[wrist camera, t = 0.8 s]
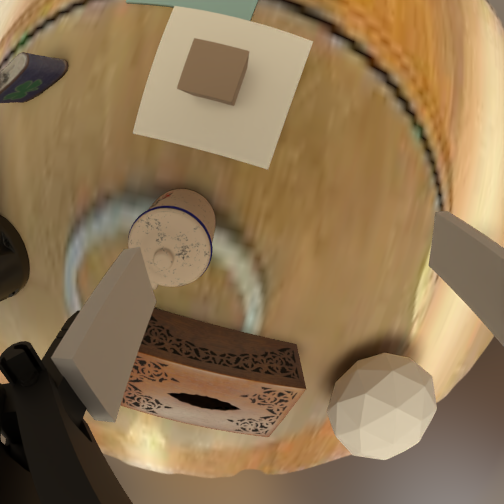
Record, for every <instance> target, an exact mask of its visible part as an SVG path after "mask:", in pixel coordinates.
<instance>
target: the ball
mask: <svg viewBox="0 0 504 504" xmlns="http://www.w3.org/2000/svg"><path fill="white" fill-rule="evenodd" d="M436 410H437V406H436V398H435V391H434V385H433V379H432V376H431V375H430V374H429V373H428V372H427V371H425V370H424V369H423V368H422V367H420V366H419V365H418V364H417V363H416V362H414V361H413V360H412V359H410V358H409V357H404V356H399V355H394V354H389V353H382V354H379V355H375V356H372V357H369V358H365V359H361V360H358V361H357V362H356V363H355V364H354V365H353V366H352V367H351V368H350V369H349V370H348V371H347V372H346V373H345V374H344V375H343V376H342V377H341V378H340V379H339V380H337V381H336V382H335V386H334V389H333V393H332V396H331V399H330V403H329V406H328V409H327V414H328V417H329V420H330V422H331V425H332V428H333V431H334V433H335V436H336V437H337V438H338V439H339V440H340V442H341V443H342V444H343V445H344V446H345V447H346V448H347V449H348V450H349V452H350V453H351V454H352V455H356V456H361V457H367V458H374V459H381V460H386V459H389V458H391V457H393V456H395V455H397V454H399V453H401V452H403V451H405V450H407V449H409V448H410V447H412V446H414V445H415V444H417V443H419V441H420V439H421V438H422V436H423V434H424V432H425V431H426V429H427V427H428V425H429V423H430V421H431V420H432V418H433V416H434V414H435V412H436Z"/></svg>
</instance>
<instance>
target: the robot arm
mask: <svg viewBox="0 0 504 504" xmlns="http://www.w3.org/2000/svg"><path fill="white" fill-rule="evenodd" d="M429 266H430V267H431V268H432V269H433V270H434V271H435V272H436V273H437V274H438V275H439V276H440V277H441V278H442V279H443V280H444V281H445V282H446V283H447V284H448V285H449V286H450V287H451V288H452V289H453V290H454V291H455V293H456V294H457V295H458V296H459V297H460V298H461V299H462V300H463V301H464V302H465V303H466V304H467V305H468V306H469V307H470V308H471V310H472V311H473V312H474V313H475V314H476V315H477V316H478V317H479V318H480V320H481V321H482V322H483V323H484V324H485V325H486V326H487V327H488V329H489V330H490V331H491V332H492V333H493V334H494V336H495V337H496V338H497V339H498V340H499V342H500V343H501V344H502V345H503V346H504V248H503V247H501V246H500V245H499V244H497V243H496V242H494V241H493V240H491V239H490V238H488V237H487V236H486V235H484V234H483V233H481V232H480V231H478V230H477V229H475V228H473V227H472V226H470V225H469V224H467V223H466V222H464V221H463V220H461V219H459V218H458V217H456V216H454V215H453V214H451V213H450V212H448V211H444V212H435V221H434V230H433V238H432V246H431V253H430V259H429ZM28 277H29V261H28V256H27V252H26V249H25V246H24V244H23V242H22V240H21V238H20V236H19V234H18V233H17V231H16V230H15V228H14V227H13V226H12V225H11V224H10V223H9V222H8V221H7V220H6V219H5V218H4V217H2V216H0V301H2V300H4V299H7V298H8V297H12V296H14V295H16V294H17V293H18V292H19V291H20V290H21V289H22V288H23V287H24V286H25V284H26V283H27V280H28ZM155 304H156V299H155V296H154V293H153V289H152V286H151V283H150V280H149V277H148V273H147V270H146V267H145V263H144V260H143V256H142V253H141V249H140V247H136V248H129V249H124V250H123V251H122V252H121V254H120V255H119V256H118V258H117V259H116V260H115V262H114V263H113V265H112V266H111V267H110V269H109V270H108V271H107V273H106V274H105V276H104V277H103V278H102V280H101V281H100V283H99V284H98V285H97V287H96V288H95V290H94V291H93V293H92V294H91V296H90V297H89V299H88V300H87V301H86V303H85V304H84V306H83V307H82V309H81V310H80V311H77V312H76V313H74V314H73V315H72V316H71V317H70V318H69V319H68V320H67V321H66V323H65V324H64V326H63V327H62V329H61V331H60V332H59V333H58V335H57V336H56V339H55V340H54V341H53V343H52V344H51V346H50V347H49V349H48V351H47V352H46V354H45V356H44V357H43V359H42V361H41V360H40V358H39V356H38V355H37V353H36V351H35V350H34V348H33V346H32V345H31V343H29V342H26V341H24V342H18V343H15V344H13V345H11V346H10V347H8V348H7V349H6V350H5V351H4V352H3V353H2V354H1V356H0V370H1V372H2V373H3V374H4V376H5V377H6V379H7V380H8V381H9V383H7V384H1V383H0V436H1V434H2V435H3V436H4V437H5V438H6V443H5V445H4V444H3V443H2V442H1V438H0V504H133V503H132V502H131V500H130V499H129V497H128V496H127V494H126V493H125V491H124V490H123V488H122V487H121V485H120V483H119V482H118V480H117V478H116V477H115V475H114V473H113V472H112V470H111V468H110V466H109V465H108V463H107V461H106V459H105V457H104V456H103V454H102V452H101V450H100V448H99V446H98V444H97V442H96V440H95V438H94V436H93V434H92V432H91V430H90V428H89V426H88V424H87V423H86V422H85V420H84V419H83V416H84V414H85V411H86V409H87V411H88V412H89V413H90V415H91V416H92V417H93V418H94V420H98V421H107V422H115V421H116V418H117V415H118V411H119V408H120V405H121V402H122V398H123V395H124V392H125V389H126V386H127V383H128V380H129V377H130V374H131V371H132V368H133V365H134V362H135V359H136V356H137V353H138V350H139V347H140V345H141V342H142V339H143V336H144V333H145V331H146V328H147V325H148V323H149V320H150V317H151V314H152V312H153V309H154V307H155Z"/></svg>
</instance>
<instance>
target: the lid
mask: <svg viewBox="0 0 504 504" xmlns="http://www.w3.org/2000/svg"><path fill="white" fill-rule="evenodd" d="M312 43H313V41H310V40H308V39H305V38H302V37H299V36H297V35H294V34H291V33H288V32H285V31H282V30H279V29H276V28H273V27H269V26H266V25H263V24H259V23H255V22H252V21H248V20H244V19H240V18H236V17H232V16H228V15H223V14H219V13H214V12H209V11H204V10H198V9H192V8H186V7H179V6H174V9H173V11H172V13H171V16H170V18H169V21H168V23H167V26H166V28H165V31H164V33H163V36H162V39H161V41H160V44H159V47H158V50H157V52H156V55H155V58H154V61H153V64H152V67H151V70H150V73H149V76H148V80H147V83H146V86H145V89H144V93H143V96H142V100H141V103H140V107H139V111H138V114H137V118H136V122H135V126H134V130H133V134H137V135H142V136H146V137H151V138H155V139H159V140H164V141H168V142H172V143H176V144H180V145H184V146H188V147H191V148H195V149H199V150H203V151H206V152H210V153H214V154H217V155H221V156H224V157H228V158H231V159H235V160H238V161H242V162H245V163H248V164H251V165H255V166H258V167H261V168H264V169H267V170H268V168H269V165H270V162H271V160H272V157H273V154H274V151H275V148H276V145H277V142H278V139H279V136H280V134H281V131H282V128H283V125H284V122H285V119H286V116H287V114H288V111H289V108H290V105H291V102H292V99H293V97H294V94H295V91H296V88H297V85H298V82H299V80H300V77H301V74H302V71H303V68H304V66H305V63H306V60H307V57H308V54H309V52H310V49H311V46H312Z"/></svg>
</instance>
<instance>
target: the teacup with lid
mask: <svg viewBox="0 0 504 504" xmlns="http://www.w3.org/2000/svg"><path fill="white" fill-rule="evenodd" d="M215 225H216V220H215V214H214V211H213V209H212V207H211V205H210V203H209V202H208V201H207V200H206V199H205V198H204V197H203V196H202V195H200V194H198V193H197V192H194V191H192V190H188V189H175V190H171V191H168V192H166V193H164V194H163V195H161V196H160V197H159V198H158V199H157V200H156V201H155V202H154V203H153V205H152V206H151V207H150V208H149V209H148V210H147V211H145V212H144V213H142V214H141V215H140V216H139V217H138V218H137V219H136V220H135V222H134V223H133V225H132V227H131V229H130V232H129V236H128V249H129V248H136V247H140V249H141V253H142V256H143V260H144V263H145V267H146V270H147V273H148V277H149V280H150V283H151V286H152V289H156V288H157V287H158V284H159V285H162V286H168V287H177V286H183V285H187V284H189V283H191V282H193V281H195V280H196V279H198V278H199V277H200V276H201V275H202V274H203V273H204V272H205V271H206V269H207V268H208V266H209V264H210V261H211V257H212V241H213V236H214V231H215Z"/></svg>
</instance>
